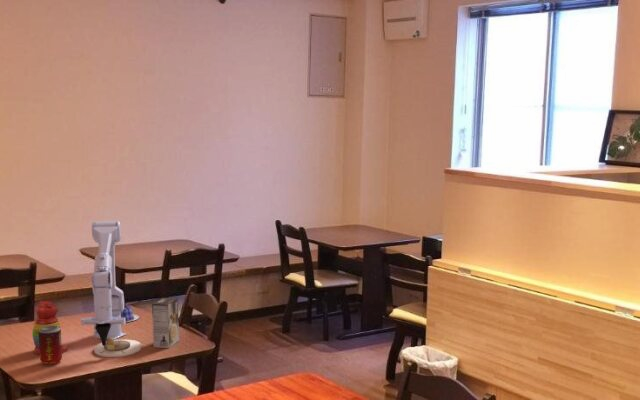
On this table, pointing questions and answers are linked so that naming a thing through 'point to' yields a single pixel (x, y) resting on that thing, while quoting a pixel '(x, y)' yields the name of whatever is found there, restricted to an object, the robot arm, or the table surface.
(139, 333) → the table surface
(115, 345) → the dial
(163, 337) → the coffee box
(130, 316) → the blue checkered cloth
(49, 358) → the soda can
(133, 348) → the base
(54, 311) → the stacking bear
